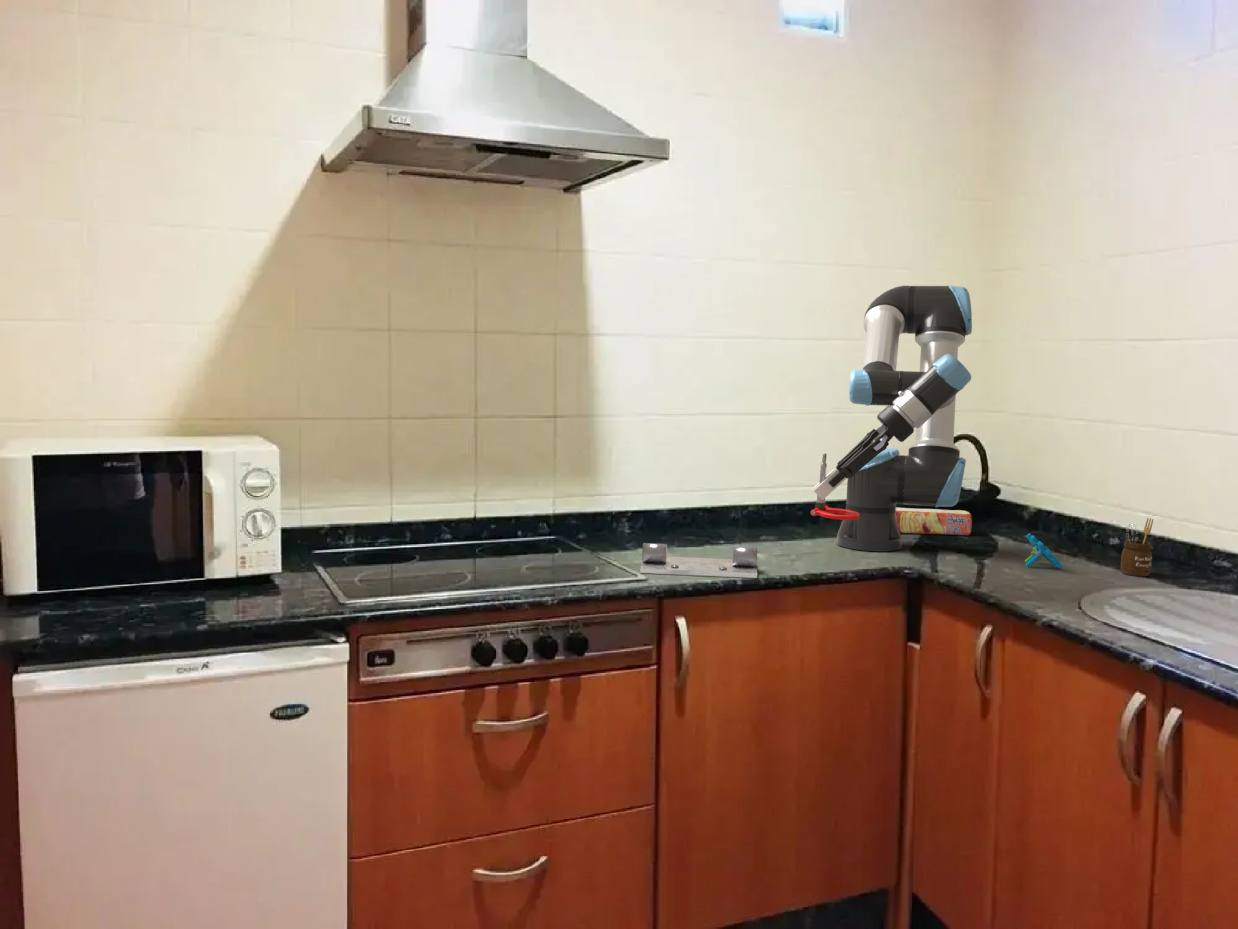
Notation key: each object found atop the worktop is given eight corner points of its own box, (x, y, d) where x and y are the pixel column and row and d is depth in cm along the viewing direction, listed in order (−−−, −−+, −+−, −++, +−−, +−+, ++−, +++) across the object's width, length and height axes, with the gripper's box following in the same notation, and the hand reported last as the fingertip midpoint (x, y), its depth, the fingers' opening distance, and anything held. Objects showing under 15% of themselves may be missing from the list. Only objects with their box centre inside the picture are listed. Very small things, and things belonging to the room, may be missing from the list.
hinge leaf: (644, 560, 225) (645, 537, 225) (755, 564, 223) (756, 542, 222) (640, 573, 212) (640, 549, 212) (757, 578, 210) (758, 554, 209)
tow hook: (865, 518, 214) (824, 511, 219) (871, 456, 212) (829, 451, 217) (849, 523, 207) (807, 516, 212) (855, 460, 205) (812, 454, 210)
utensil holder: (1113, 572, 224) (1118, 517, 222) (1134, 570, 226) (1138, 516, 225) (1136, 577, 218) (1141, 522, 217) (1157, 575, 221) (1162, 520, 219)
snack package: (964, 532, 269) (966, 507, 268) (972, 537, 263) (974, 511, 262) (883, 530, 270) (884, 505, 269) (889, 535, 263) (890, 509, 262)
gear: (1069, 566, 220) (1035, 531, 222) (1048, 584, 221) (1014, 550, 223) (1057, 563, 231) (1025, 530, 233) (1037, 580, 232) (1005, 547, 233)
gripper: (885, 400, 218) (802, 476, 221) (896, 406, 203) (807, 487, 207) (909, 426, 218) (826, 501, 222) (922, 433, 203) (833, 513, 207)
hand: (817, 494), depth 214 cm, fingers closed on tow hook, 1 cm apart
